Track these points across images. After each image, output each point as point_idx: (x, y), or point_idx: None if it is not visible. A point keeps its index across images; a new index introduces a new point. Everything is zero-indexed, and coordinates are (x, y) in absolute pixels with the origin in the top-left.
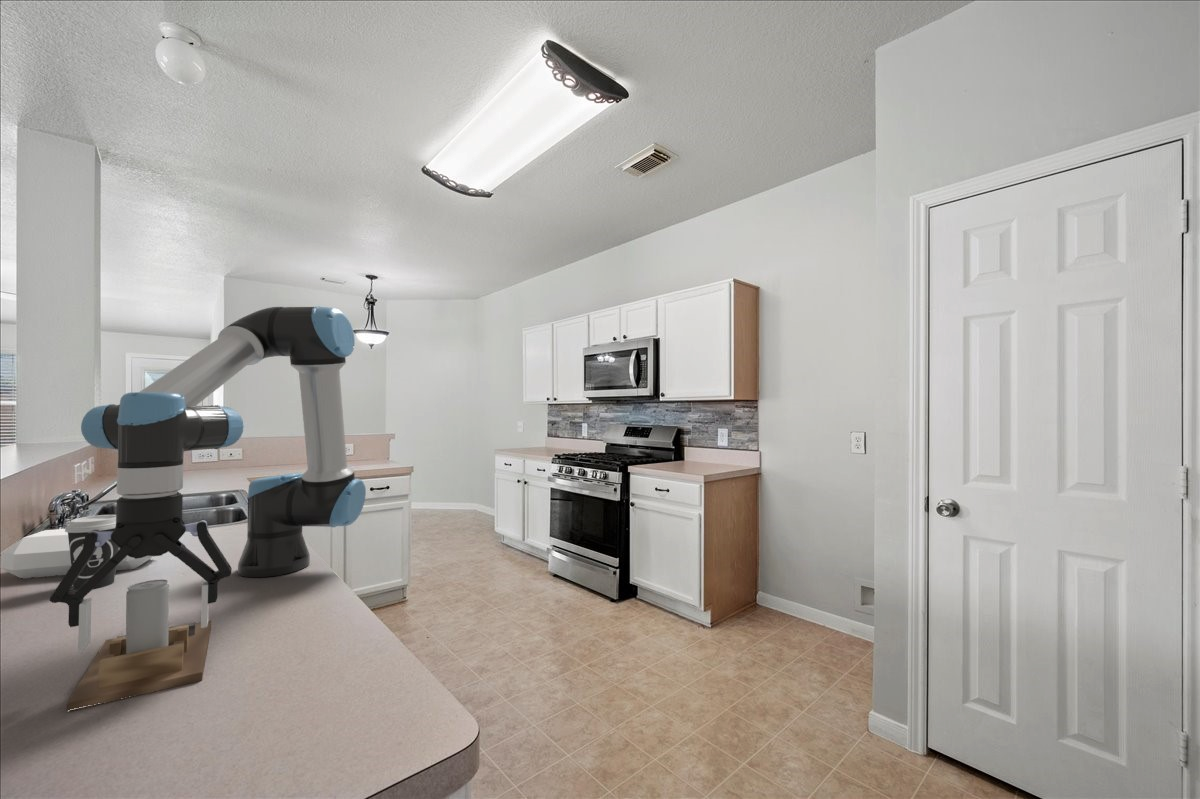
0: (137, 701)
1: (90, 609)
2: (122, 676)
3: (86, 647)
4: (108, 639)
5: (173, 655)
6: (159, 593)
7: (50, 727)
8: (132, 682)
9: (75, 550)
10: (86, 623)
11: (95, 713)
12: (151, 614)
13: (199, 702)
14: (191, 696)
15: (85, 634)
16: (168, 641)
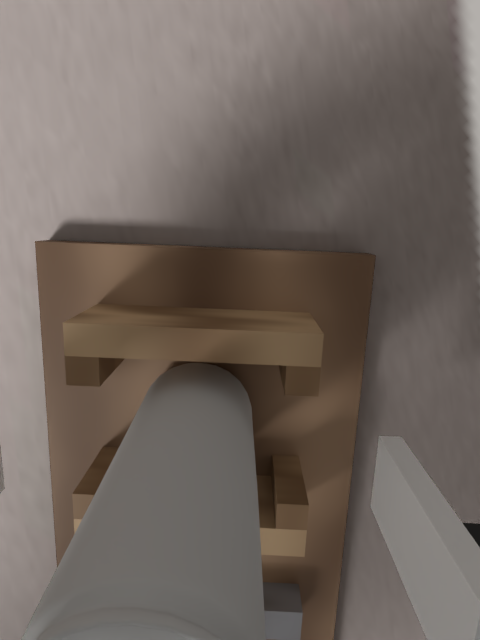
0: (204, 204)
1: (430, 625)
2: (251, 314)
3: (378, 451)
4: None
5: (103, 317)
6: (66, 575)
7: (394, 176)
8: (225, 296)
9: None
10: (420, 512)
11: (299, 194)
12: (143, 471)
13: (35, 68)
14: (64, 134)
15: (403, 472)
16: None
